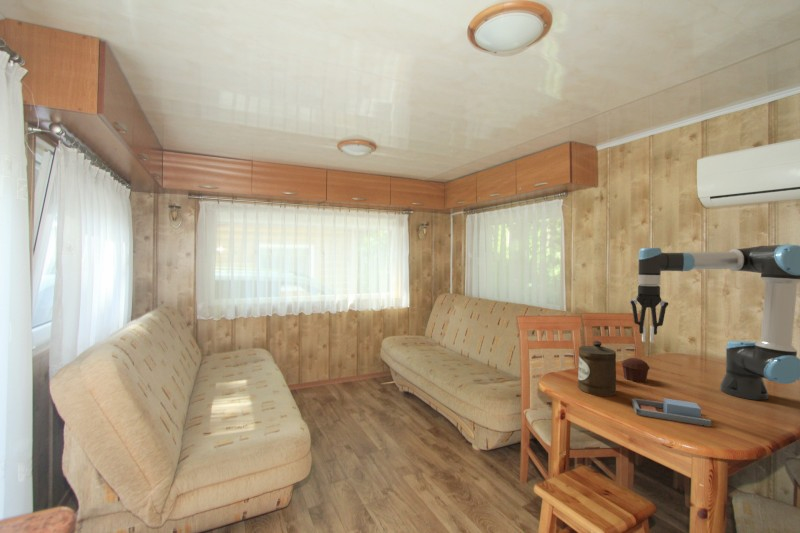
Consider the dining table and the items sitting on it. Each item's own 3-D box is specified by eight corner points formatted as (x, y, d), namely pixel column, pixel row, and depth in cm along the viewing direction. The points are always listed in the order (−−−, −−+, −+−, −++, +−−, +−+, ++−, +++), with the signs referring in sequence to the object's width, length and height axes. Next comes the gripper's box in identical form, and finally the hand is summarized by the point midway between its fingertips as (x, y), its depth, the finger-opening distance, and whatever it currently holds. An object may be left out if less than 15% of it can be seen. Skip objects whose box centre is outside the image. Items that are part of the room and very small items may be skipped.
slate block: (695, 416, 134) (696, 402, 134) (700, 422, 129) (701, 408, 129) (663, 410, 139) (663, 398, 139) (666, 416, 133) (667, 403, 133)
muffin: (642, 376, 179) (643, 356, 179) (654, 384, 168) (654, 362, 168) (616, 374, 181) (617, 355, 181) (626, 382, 170) (627, 361, 170)
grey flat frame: (699, 413, 137) (699, 407, 136) (710, 426, 125) (711, 421, 125) (631, 402, 146) (631, 397, 146) (636, 414, 135) (636, 409, 135)
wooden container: (576, 382, 170) (577, 336, 169) (612, 387, 164) (613, 339, 163) (579, 393, 156) (580, 343, 155) (618, 398, 150) (619, 346, 150)
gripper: (669, 285, 148) (667, 341, 148) (626, 283, 154) (624, 338, 155) (674, 286, 141) (672, 345, 141) (628, 285, 147) (627, 341, 148)
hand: (647, 341), depth 148 cm, fingers open, 2 cm apart
